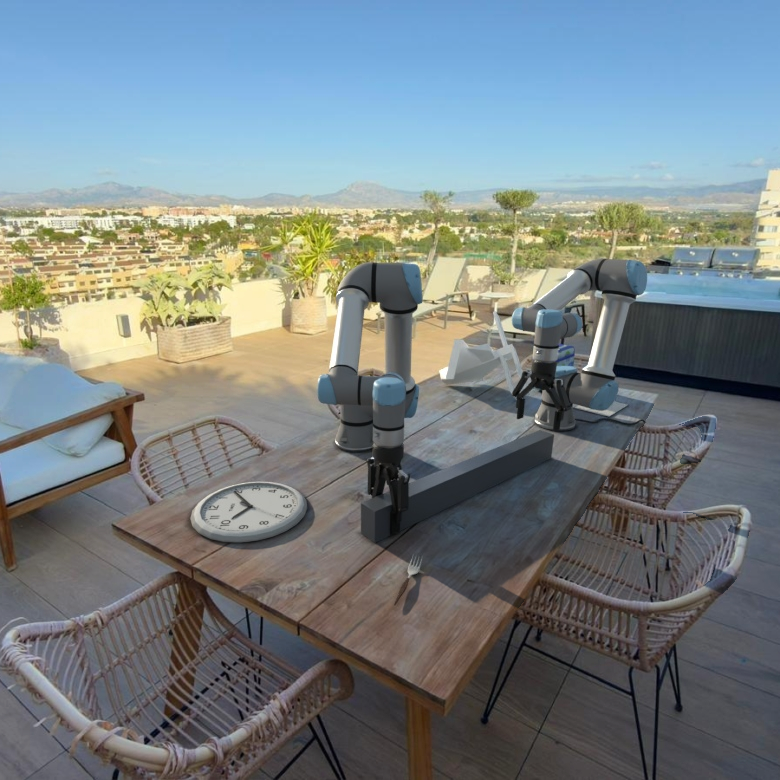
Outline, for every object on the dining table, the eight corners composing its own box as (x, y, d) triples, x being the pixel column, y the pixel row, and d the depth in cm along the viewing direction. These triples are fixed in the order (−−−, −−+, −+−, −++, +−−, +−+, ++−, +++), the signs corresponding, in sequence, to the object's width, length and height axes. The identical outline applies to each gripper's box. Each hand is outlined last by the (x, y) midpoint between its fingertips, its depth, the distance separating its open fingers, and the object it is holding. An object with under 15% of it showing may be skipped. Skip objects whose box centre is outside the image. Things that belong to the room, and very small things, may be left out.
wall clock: (302, 534, 126) (174, 538, 123) (303, 540, 126) (175, 544, 124) (310, 477, 154) (206, 479, 152) (310, 482, 155) (206, 484, 152)
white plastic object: (461, 429, 252) (437, 405, 227) (444, 352, 274) (420, 323, 250) (535, 404, 240) (518, 377, 215) (510, 326, 262) (492, 293, 237)
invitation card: (608, 416, 214) (573, 407, 224) (608, 416, 214) (573, 408, 224) (628, 404, 229) (594, 396, 238) (628, 405, 229) (594, 397, 238)
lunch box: (547, 395, 239) (552, 351, 233) (526, 390, 247) (530, 347, 240) (574, 384, 257) (579, 343, 251) (554, 380, 264) (558, 339, 258)
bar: (537, 453, 178) (540, 429, 176) (551, 458, 175) (554, 434, 172) (360, 533, 130) (360, 502, 127) (374, 543, 126) (374, 511, 124)
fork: (388, 605, 105) (388, 597, 104) (412, 560, 119) (412, 553, 119) (400, 609, 104) (400, 600, 104) (423, 563, 119) (423, 555, 118)
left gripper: (352, 434, 129) (352, 517, 136) (402, 459, 116) (400, 549, 123) (375, 427, 134) (375, 508, 141) (426, 450, 121) (423, 538, 128)
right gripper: (504, 354, 169) (499, 415, 175) (574, 370, 151) (566, 438, 157) (518, 351, 174) (512, 411, 180) (588, 366, 156) (579, 432, 162)
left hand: (386, 527), depth 132 cm, fingers closed on bar, 5 cm apart
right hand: (537, 424), depth 169 cm, fingers open, 13 cm apart
